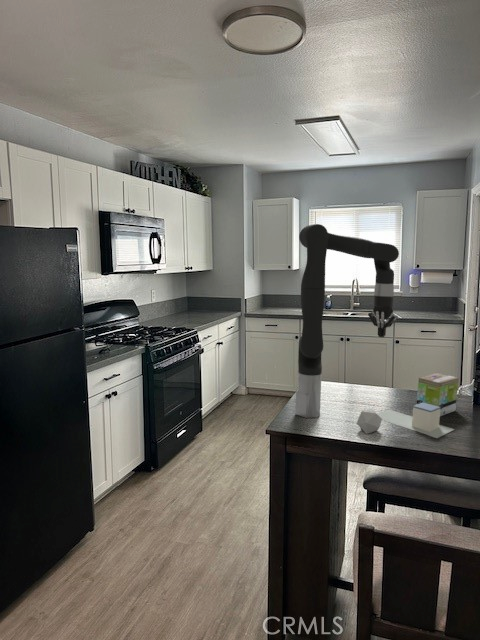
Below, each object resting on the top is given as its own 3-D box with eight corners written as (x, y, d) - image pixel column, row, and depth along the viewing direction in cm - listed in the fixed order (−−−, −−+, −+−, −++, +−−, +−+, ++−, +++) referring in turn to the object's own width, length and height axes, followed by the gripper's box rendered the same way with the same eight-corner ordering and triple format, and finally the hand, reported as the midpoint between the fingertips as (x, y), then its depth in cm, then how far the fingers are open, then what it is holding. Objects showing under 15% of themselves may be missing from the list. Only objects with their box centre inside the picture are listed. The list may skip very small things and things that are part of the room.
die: (368, 427, 176) (354, 407, 175) (388, 421, 171) (374, 401, 170) (364, 441, 170) (349, 421, 169) (384, 435, 165) (369, 414, 163)
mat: (436, 438, 164) (436, 437, 164) (369, 416, 186) (369, 415, 186) (454, 430, 172) (454, 429, 172) (388, 410, 194) (388, 409, 194)
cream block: (413, 405, 174) (411, 426, 175) (430, 410, 168) (429, 431, 170) (422, 402, 178) (421, 422, 179) (440, 407, 173) (438, 427, 174)
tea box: (438, 418, 184) (441, 382, 182) (415, 412, 192) (417, 377, 190) (456, 411, 194) (459, 376, 192) (433, 404, 202) (435, 371, 200)
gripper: (364, 293, 190) (362, 335, 192) (393, 296, 180) (390, 340, 182) (375, 293, 195) (373, 333, 197) (403, 295, 185) (401, 338, 187)
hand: (381, 336), depth 190 cm, fingers closed
